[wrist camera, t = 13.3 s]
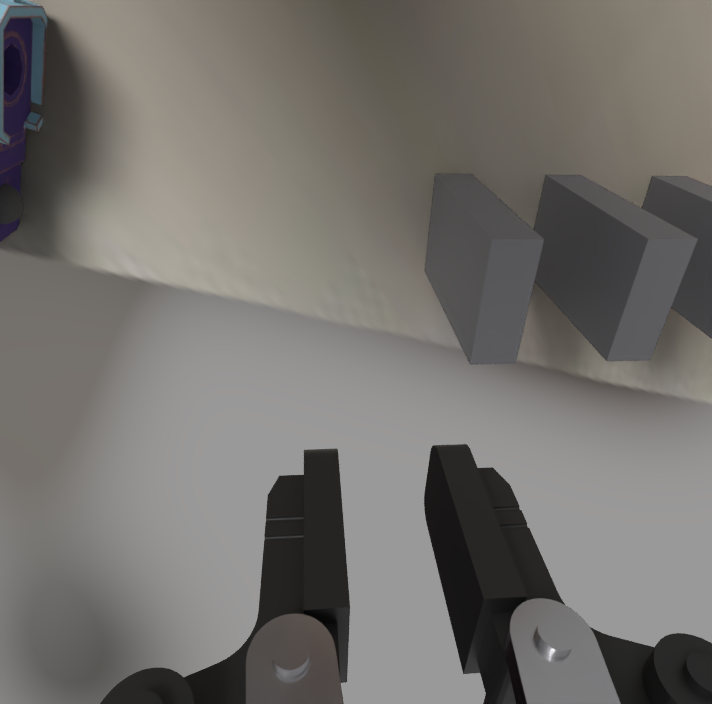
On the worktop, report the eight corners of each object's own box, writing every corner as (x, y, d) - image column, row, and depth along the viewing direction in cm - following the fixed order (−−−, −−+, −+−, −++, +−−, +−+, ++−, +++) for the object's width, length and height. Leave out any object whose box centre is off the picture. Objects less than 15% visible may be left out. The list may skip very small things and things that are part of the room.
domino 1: (424, 270, 28) (470, 364, 20) (434, 173, 25) (492, 239, 17) (457, 270, 28) (515, 363, 20) (471, 174, 25) (544, 239, 17)
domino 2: (524, 270, 28) (606, 361, 20) (545, 174, 25) (648, 239, 18) (556, 269, 28) (649, 360, 21) (580, 175, 25) (698, 239, 18)
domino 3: (621, 269, 28) (737, 358, 21) (652, 175, 26) (797, 239, 18) (652, 269, 29) (778, 357, 21) (686, 176, 26) (844, 238, 18)
